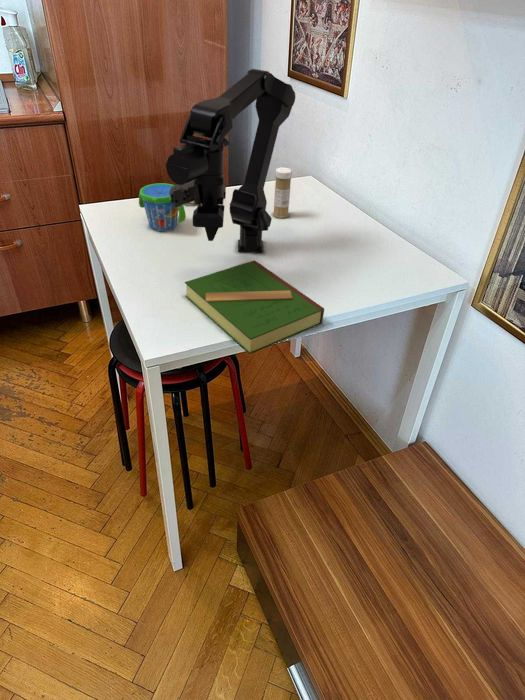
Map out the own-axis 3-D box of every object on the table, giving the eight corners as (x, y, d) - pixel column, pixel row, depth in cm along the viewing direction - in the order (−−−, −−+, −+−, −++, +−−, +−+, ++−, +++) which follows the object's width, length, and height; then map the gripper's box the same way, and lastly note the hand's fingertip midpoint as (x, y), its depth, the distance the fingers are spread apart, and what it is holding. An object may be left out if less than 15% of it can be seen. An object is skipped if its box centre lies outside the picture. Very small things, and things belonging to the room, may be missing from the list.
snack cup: (130, 222, 140) (125, 186, 133) (160, 212, 146) (158, 177, 140) (165, 241, 132) (162, 204, 125) (196, 230, 138) (195, 193, 132)
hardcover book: (322, 323, 106) (324, 308, 104) (249, 354, 97) (250, 338, 94) (252, 272, 121) (252, 258, 119) (183, 295, 112) (183, 280, 109)
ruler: (205, 294, 106) (205, 292, 105) (290, 292, 108) (290, 290, 108) (206, 302, 103) (206, 300, 103) (292, 299, 106) (292, 298, 105)
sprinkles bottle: (286, 212, 151) (289, 166, 142) (290, 218, 147) (294, 172, 139) (271, 212, 150) (274, 167, 141) (274, 219, 146) (277, 172, 138)
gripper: (175, 155, 112) (179, 221, 122) (165, 185, 97) (170, 258, 107) (226, 157, 113) (225, 223, 122) (223, 188, 98) (222, 260, 108)
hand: (210, 240), depth 115 cm, fingers closed
